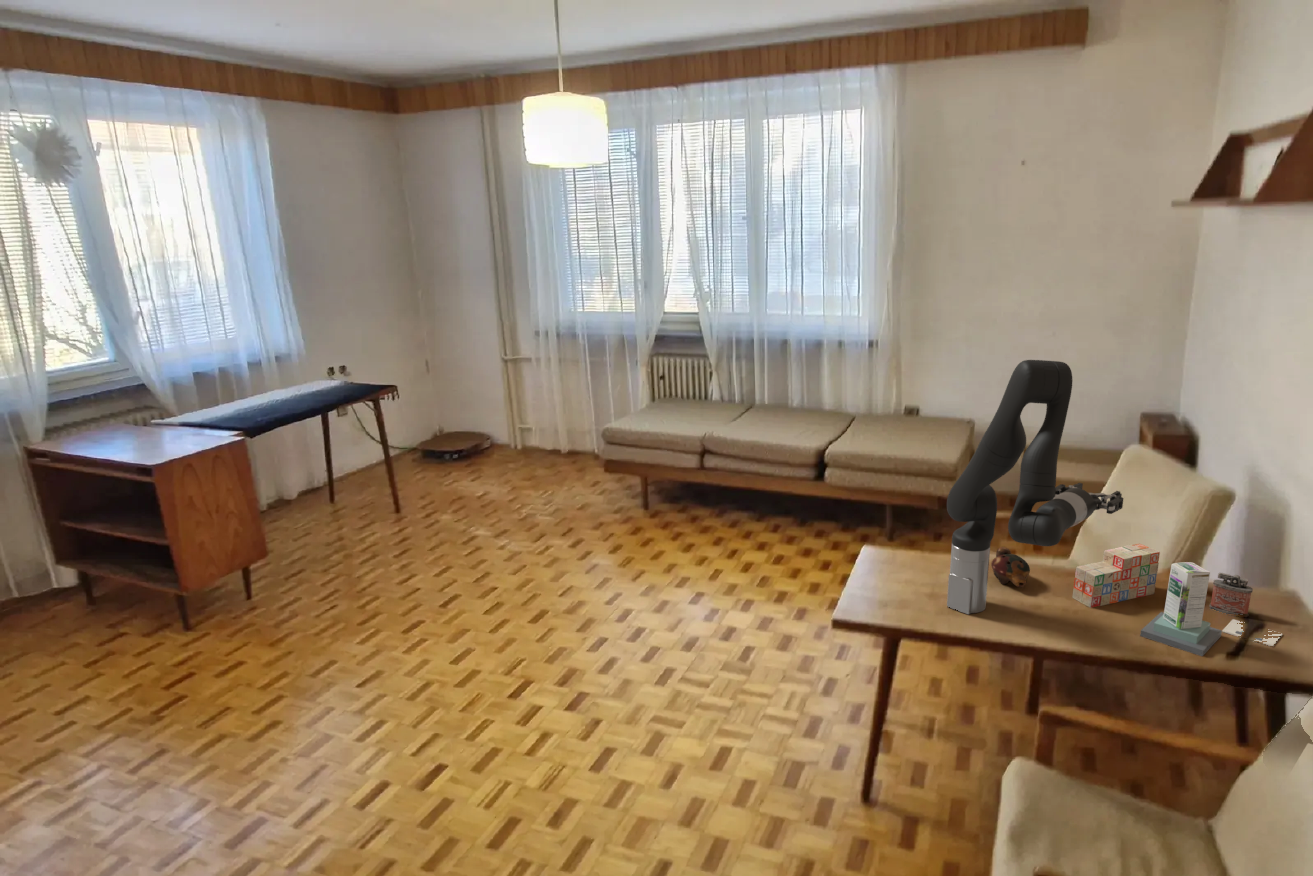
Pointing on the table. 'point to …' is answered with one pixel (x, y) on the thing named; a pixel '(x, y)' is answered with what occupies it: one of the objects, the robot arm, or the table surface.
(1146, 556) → the stack of blocks
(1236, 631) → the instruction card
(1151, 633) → the tower base
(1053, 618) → the table surface
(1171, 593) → the syrup box
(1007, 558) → the decorative turtle
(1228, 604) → the lighter
